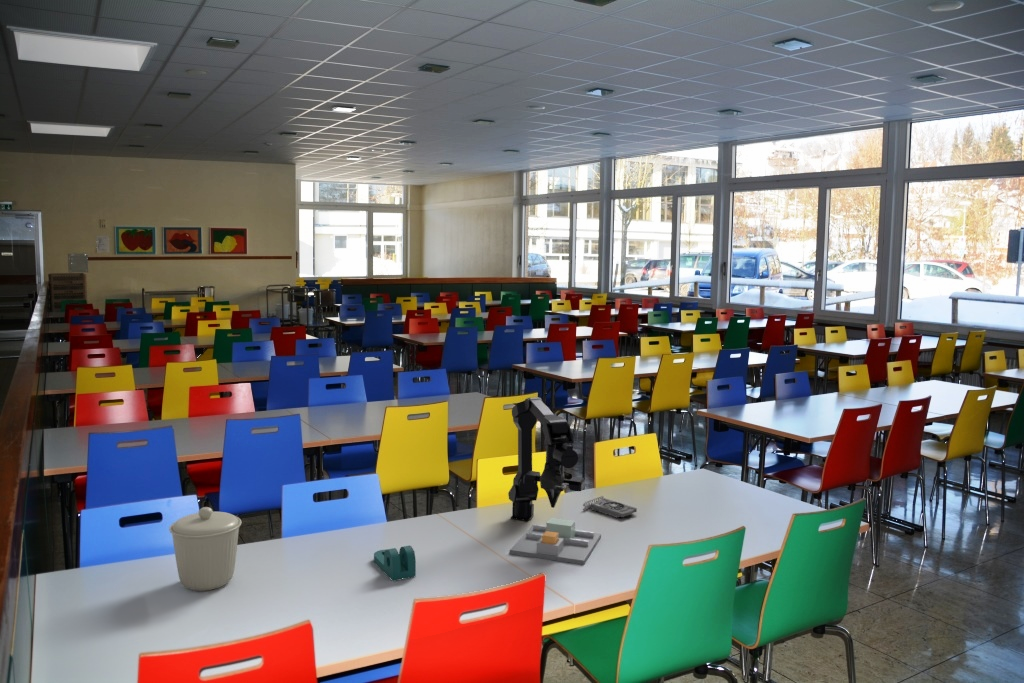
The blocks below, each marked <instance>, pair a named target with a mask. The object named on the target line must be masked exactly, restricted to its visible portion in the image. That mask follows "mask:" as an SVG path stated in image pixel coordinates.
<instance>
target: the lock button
mask: <svg viewBox="0 0 1024 683" xmlns="http://www.w3.org/2000/svg"><path fill="white" fill-rule="evenodd" d="M558 538H559V533H557V532H549V531H546V532H545V533H544V534H543V535H542V543H548V544H555V545H556V543H557V542H558Z"/></svg>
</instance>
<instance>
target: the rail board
mask: <svg viewBox="0 0 1024 683" xmlns="http://www.w3.org/2000/svg"><path fill="white" fill-rule="evenodd" d="M545 532H546V525H544V524H535V523H534V524H532V525H531V526H529V528H528V529H527V530H526V531H525V533H524V534H523V535H521V537H520V538H519V539H518V540H517V541H516V542H515V543H514V544H513V546H512V547H511V548H510V549H509V555H516V556H524V557H530V558H536V559H537V558H538V559H544V560H551V561H558V562H565V563H571V564H577V565H585V563H586V562H587V560H588V559H589V558H590V556H591V554H592V553H593V551H594V549H595V548H596V547H597V545H598V543H599V542H600V539H601V538H602V533H598V532H595V531H588V530H581V529H575V537H574V538H565V537H559V538H558V542H557V543H556V545H555V544H548V543H542V535H543V534H544V533H545Z"/></svg>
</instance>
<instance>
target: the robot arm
mask: <svg viewBox="0 0 1024 683" xmlns="http://www.w3.org/2000/svg"><path fill="white" fill-rule="evenodd" d="M511 416H512V422H513V424H514V425H515V427H516V428H517V473H516V474H515V476H514V477H513V480H512V486H511V487H510V489H509V491H508V492H507V494H508V500H509V501H511V502H512V508H511V509H512V510H511V511H512V515H511V516H510V519H512V520H520V521H527V522H529V521H531V519H532V518H533V517H534V514H535V513H534V511H535V510H534V508H535V504H534V503H533V501H537V498H538V494H539V489H542V490H544V491H545V493H546V495H547V497H548V501H549V504H550V507H551V508H553V509H554V508H555V507H556V505H557V502H558V500H559V498H560V496H561V493H562V492H564V491H565V490H566V488H568V489H569V490H570V491H573V492H582V490H584V488H585V487H586V479H585V478H584V477H579V476H572V477H571V478H570V479H567V478H565V473H564V472H565V468H566V469H571V468H573V467H575V466H576V465H577V463H578V461H579V455H578V453H577V452H576V451H575V450H574V449H573V448H574V447H573V445H572V444H574V435H573V432H572V429H571V427H570V424H569V422H568V421H567V419H565V418H564V417H563V416H561V415H556V414H554V413H553V412H552V411H551V409H550V408H549V407H548V406H547V405H546V404H545V403H544V402H543V399H542V398H541V397H538V396H535V397H534V396H533V397H527V398H525V399H524V400H523V401H520V402H518V403H516V404H514V406H513V407H512V408H511ZM538 421H539V423H540V424H541V426H542V432H543V435H544V437H545V439H544V442H545V443H546V445H545V446H546V448H545V449H546V450H545V463H544V468H543V471H542V472H540V471H535V470H533V430H534V428H535V426H536V424H537V422H538ZM538 482H539V483H540V485H538ZM539 486H540V488H539Z"/></svg>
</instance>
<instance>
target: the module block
mask: <svg viewBox="0 0 1024 683" xmlns="http://www.w3.org/2000/svg"><path fill="white" fill-rule="evenodd" d="M545 526H546V531H549V532H557V533H559V537H565V538H574V537H575V530H576V527H575V526H576V521H575V520H570V519H560V518H553V517H550V518H549V519H548V520H547V522H546V524H545Z"/></svg>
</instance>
